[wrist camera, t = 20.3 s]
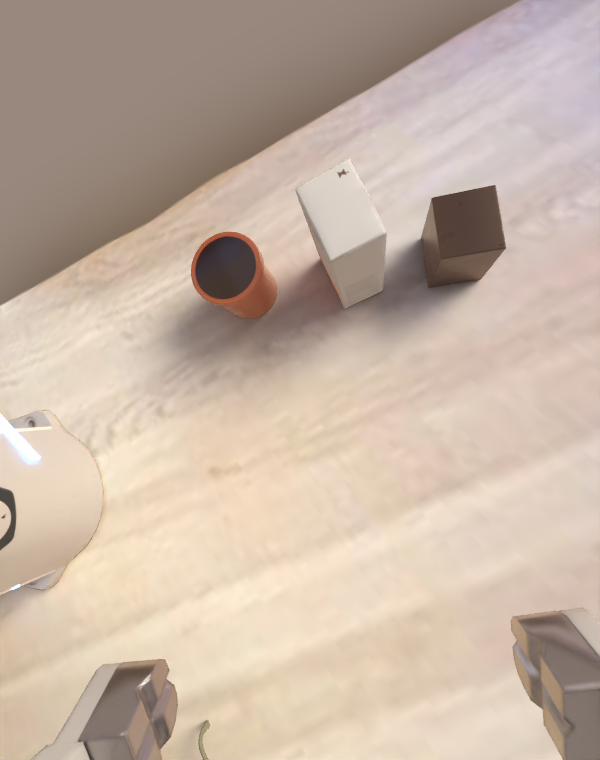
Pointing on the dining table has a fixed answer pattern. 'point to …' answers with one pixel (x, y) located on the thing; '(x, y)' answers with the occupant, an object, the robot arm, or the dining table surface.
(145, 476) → the dining table surface
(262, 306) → the flower pot
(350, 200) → the cosmetic box
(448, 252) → the walnut block
